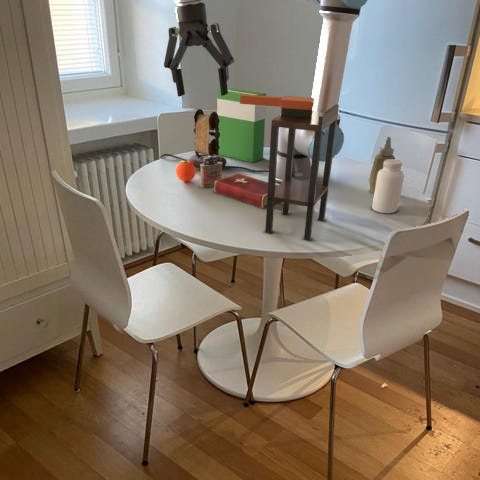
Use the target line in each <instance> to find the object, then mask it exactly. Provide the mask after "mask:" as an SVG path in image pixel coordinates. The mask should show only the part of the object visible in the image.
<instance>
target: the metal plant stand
mask: <svg viewBox="0 0 480 480" xmlns="http://www.w3.org/2000/svg"><path fill="white" fill-rule="evenodd" d="M339 107H340V105H339V104H338V105H334V106H333V107H331V108H330V109H329V110H327V111H326V112H325V111H315V110H312V115H311V117H310V118H297V117H283V116H281V115H280V114H279V115H278V116H276V117H274V118H272V119H271V125H270V141H269V157H268V159H269V161H268V170H269V172H268V176H267V182H268V193H267V207H266V211H265V212H266V213H265V231H264V232H265V233H267V234H271V233H272V232H273V227H274V226H273V225H274V212H275V211H274V209H275V204H274V201H276V202H278V203H282V212H281V214H282V215H284V216H288V215H289V214H290V205H295V206H301V207H306V213H305V214H306V215H305V223H304V235H303V240H304V241H310V240H311V238H312V232H313V231H312V230H313V224H314V223H313V222H314V213H315V206H316V205H317V203H318V202H320V203H319V210H318V211H319V212H318V219H317V220H318V221H320V222H324V221H325V219H326V212H327V204H328V195H329V188H330V181H331V171H332V164H333V159H332V157H333V149H334V141H335V133H336V125H337V117H338V114H339ZM328 126H329V133H328V142H327V150H326V159H325V162H324V169H323V177H322V183H321V182H318V179H319V167H320V161H319V160H320V151H321V142H322V133H323V130H324V129H325V128H326V127H328ZM279 127H283V128H289V131H288V145H287V158H286V171H285V180H284V181H283V182H282V183H279V184H278V185H279V186H278V187H277V188H275V184H276V166H277V150H278V135H279ZM296 129H300V130H309V131H315V136H314V145H313V155H312V159H311V174H310V182H307V181H300V180H294V179H292V167H293V155H294V142H295V130H296Z"/></svg>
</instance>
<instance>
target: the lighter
mask: <svg viewBox="0 0 480 480" xmlns="http://www.w3.org/2000/svg"><path fill="white" fill-rule="evenodd" d="M220 156H221V155H220ZM220 156H219V155H218V156H213V157H212V156H208V157H206V158H203V161H204V163H203V164H200V167H201V168H200V188H202V189H211V188H214V183H215V181H216V180H219V179H222V178H223V168H222V162H217V160H221V157H220ZM214 160H215V162H214Z"/></svg>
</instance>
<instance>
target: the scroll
mask: <svg viewBox="0 0 480 480" xmlns="http://www.w3.org/2000/svg"><path fill="white" fill-rule="evenodd" d="M193 121H194V128H193V133H194V135H195V136H194V143H193V144H194V148H195V150H194V153H195V154H194V155H191V156H190V157H188V158H187V160H188V161H189V162H191V163H192V164H193V165H194V167H195V169H201V167H200V164H203V163H204V161H203V158H206V157H208V156H212V157H213V156H218V155H219V153H218V152H219V151H218V150H219V148H220V147H219V140H218V139H219V137H220V133H219V132H218V131H219V127H218V125H219V124H218V123H219V122H220V120H219V118H218V114H217V111H212V112H211V113H210V114H209V115H206V114H205V113H204V111H203V110H202V109H201V108H199V109H197V110H196V111H195V113H194V115H193ZM210 136H211V137H214V138H213V139H212V140H211V141H210V142H209V140H210ZM219 156H220V157H221V160H217V162H222V167H223V166H227V158H225V156H223V155H219ZM214 162H215V160H214Z"/></svg>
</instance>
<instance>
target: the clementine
mask: <svg viewBox="0 0 480 480" xmlns="http://www.w3.org/2000/svg"><path fill="white" fill-rule="evenodd" d="M175 175H176V177H177V178H178V180H180V181H182V182H190V181H192V180H193V179H194V178H195V176H196V167H194V165H193V164H192V163H191V162H189V161H184V160H179V161H177V164H176V166H175Z"/></svg>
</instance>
